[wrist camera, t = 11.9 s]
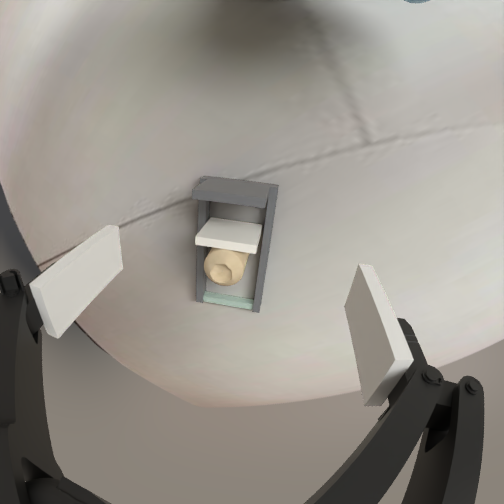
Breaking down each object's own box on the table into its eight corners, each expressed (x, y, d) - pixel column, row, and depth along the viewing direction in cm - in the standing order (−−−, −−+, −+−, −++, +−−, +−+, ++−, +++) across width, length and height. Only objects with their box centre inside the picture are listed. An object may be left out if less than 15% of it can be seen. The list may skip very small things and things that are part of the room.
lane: (203, 175, 41) (183, 188, 33) (278, 185, 40) (276, 200, 32) (199, 295, 51) (184, 326, 42) (260, 306, 50) (254, 339, 42)
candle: (227, 221, 44) (211, 247, 35) (257, 238, 44) (249, 269, 35) (212, 247, 46) (194, 278, 37) (241, 264, 47) (229, 298, 38)
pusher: (210, 217, 43) (195, 236, 36) (262, 224, 43) (256, 245, 36) (210, 224, 44) (195, 244, 37) (261, 231, 44) (255, 254, 36)
